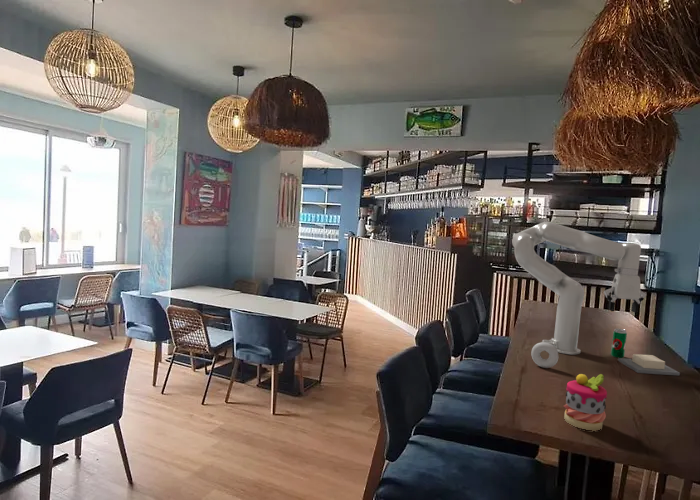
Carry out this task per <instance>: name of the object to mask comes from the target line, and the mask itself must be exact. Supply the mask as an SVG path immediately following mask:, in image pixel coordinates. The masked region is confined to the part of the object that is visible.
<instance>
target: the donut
mask: <svg viewBox="0 0 700 500" xmlns="http://www.w3.org/2000/svg"><path fill="white" fill-rule="evenodd" d="M544 351H545V352H546V353H548V358H543V357H542V356H541V353H542V352H544ZM530 352H531V353H530V354H531V358H532V360H533V362H534V363H535V365H537V366H539V367H541V368H545V369H548V368H553V367H554V366H556V364H557V363H558V360H559V357H560V356H559V352H557V350H556V348H555V347H554V346H553V345H551V344H549V343H547V342H542V341H541V342H538V343H536V344H534V345H533V347H532V349H531V351H530Z"/></svg>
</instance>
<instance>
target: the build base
mask: <svg viewBox="0 0 700 500" xmlns="http://www.w3.org/2000/svg"><path fill="white" fill-rule="evenodd" d="M617 361H618V362H619V363H620V364H622V365H624V366H626V367H628V368H629V369H631V370H633V371H634V372H636V373H637V374H651V375H667V376H680V374H681V373H680V372H679V371H677V370H676V369H674V368H672V367H670V366H668V365H666V361H664V360H662V359H660V358H658V357H657V356H655V355H653V354H640V353H639V354H638V353H633V354H632V358H625V357H623V358H617Z"/></svg>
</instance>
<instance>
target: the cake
mask: <svg viewBox="0 0 700 500" xmlns="http://www.w3.org/2000/svg"><path fill="white" fill-rule="evenodd" d="M604 377H605V376H604V375H603V374H602V373H600V374H598V375H597V376H592V377H591V378H588V376H587V375H586V374H583V373H579V374H578V375H576V376H575V379H574V380H570V381H568V382H567V384H566V389H565V390H566V392H565V397H566V398H565V404H564V405H563V408H565V411H564V416H563V420H564V419H565V420H564V422H565V421H566V422H567V423H569V424H571V425H573V426H575V427H578V428H582V429H586V430H592V431H591V432H593V431H595V432H597V431H596V430H600V429H601V430H602V429H603V426H604V425H603V424H604V421H605V419H606V417H607V414H606V411H605V410H606V409H607V408H606V407H607V405H606V399H608V398H607V396H608V391H607V389H605V387H603V386H601V385H602V384H603V383H604ZM566 422H565V423H566ZM567 423H566V424H567ZM569 424H568V425H569ZM571 425H570V426H571ZM573 426H572V427H573ZM575 427H574V428H575ZM601 430H600V431H601Z"/></svg>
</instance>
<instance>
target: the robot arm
mask: <svg viewBox="0 0 700 500" xmlns="http://www.w3.org/2000/svg"><path fill="white" fill-rule="evenodd" d="M544 242H549V243H551V244H555V245H559V246H561V247H565V248H568V249H571V250H574V251H578V252H583V253H588V254H590V255H591V254H592V255H595V256H597V257H601V258H604V259H607V260H611V261H618V264H617V268H614V272H615V273H616V274H615V275H614V277H613V280H612V284H611V285H612V286H611V287H610V288H608V289H605V290H604V291H603V294H604V296H605V298H606V299H607V301H608V311H611V312H615V308H616V307H615V306H616V300H617V299H622V300H632V301H633V302H632V303H631V312H632V313H635V314H637V313H638V311H639V306H640V304H641V302H642V301H644V300H645V298H646V296H647V293H645V292H644V291H642V290H641V277H640V276H639V275H638V274H639V268H640V267H639V266H640V259H641V251H642V247H641V245H640V244H638V243H631V242H630V243H629V242H624V243H621V242H618V241H613V240H610V239H606V238H604V237H600V236H596V235H594V234H590V233H587V232H585V231H582V230H579V229H575V228H572V227H569V226H566V225H562V224H558V223H555V222H552V221H543V222H540V223H538V224H535V225H533V226H532V227H528V228H526V229H524V230H522V231H518V232H517V233H515V234H514V236H513V237H512V239H511V245H512V247H513V248H514V257H515V260H516V262H517V263H518V265H519V266H520V267H521V268H522V269H523V270H525V272H527V273H529V274H530V275H531V276H532V277H534V278H535V279H536V280H537V281H538V282H539V283H540V284H542V286H545V287H546V288H547V289H549V290H551V291H552V292H554V293H555V294H556V295H558V302H557V305H556V313H555V314H556V317H555V324H554V325H555V326H554V332H553V333H554V334H553V337H551V339H542V341H541V342H547V343H549V344H551V345H553V346H554V347H555V348H556V350H557V352H558V354H559V353H560V354H563V355H572V356H575V355H580V354H581V349H580V348H578V341H579V332H580V331H579V330H580V321H581V315H582V314H581V312H582V306H583V301H584V299H585V298H584V297H585V290H584V288H583V286H582V284H581V283H580V282H578V281H576V280H575V279H574V278H572V277H570V276H568V275H567V274H565V273H564V272H562V270H560V269H559V268H558V267H556V265H554V264H551V263H550V262H548V261H546V260H545V259H543V258H542V257H541V256H540V255H539V254H537V252H536V251H535V246H537V245H539V244H542V243H544ZM610 293H611V294H610Z"/></svg>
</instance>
